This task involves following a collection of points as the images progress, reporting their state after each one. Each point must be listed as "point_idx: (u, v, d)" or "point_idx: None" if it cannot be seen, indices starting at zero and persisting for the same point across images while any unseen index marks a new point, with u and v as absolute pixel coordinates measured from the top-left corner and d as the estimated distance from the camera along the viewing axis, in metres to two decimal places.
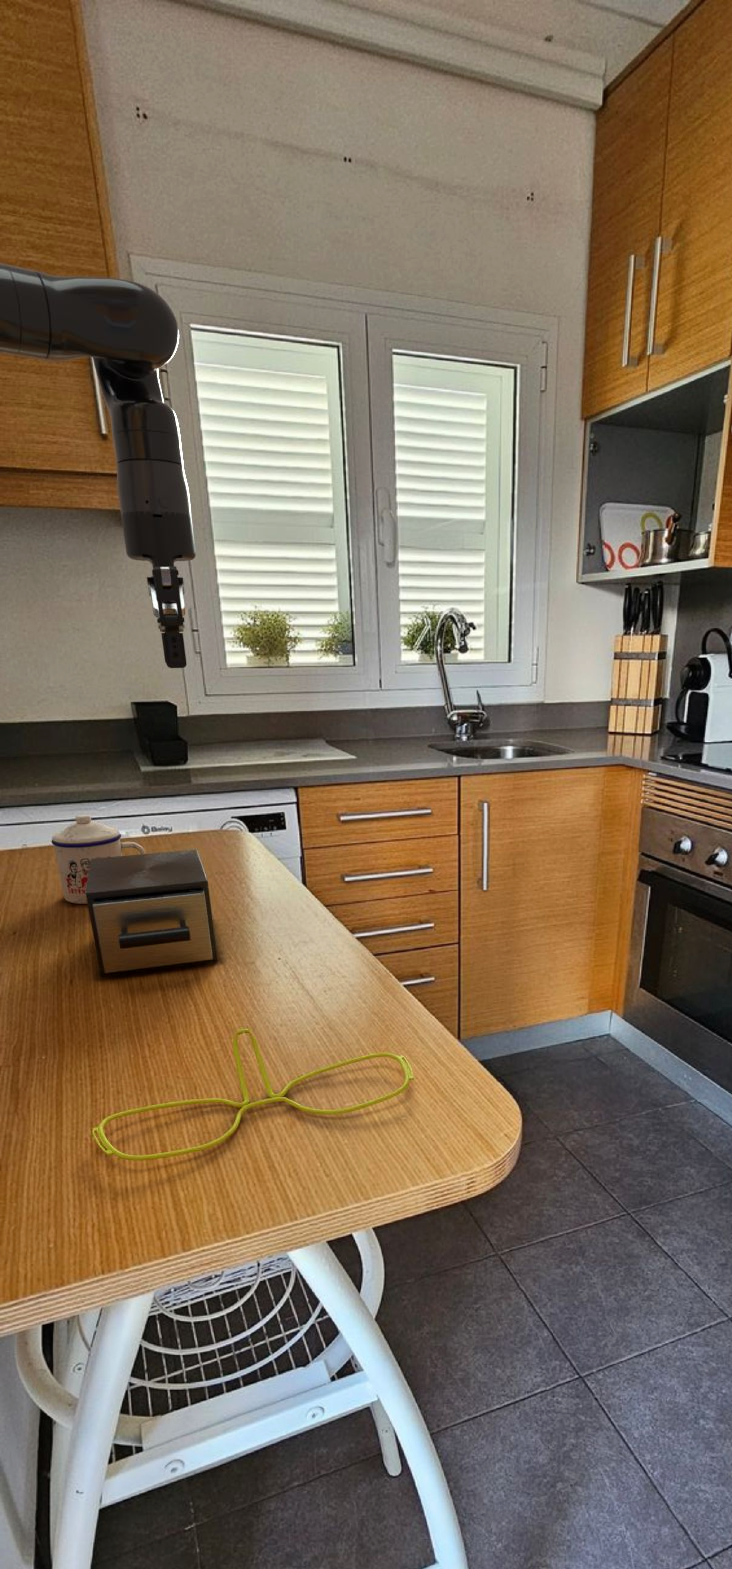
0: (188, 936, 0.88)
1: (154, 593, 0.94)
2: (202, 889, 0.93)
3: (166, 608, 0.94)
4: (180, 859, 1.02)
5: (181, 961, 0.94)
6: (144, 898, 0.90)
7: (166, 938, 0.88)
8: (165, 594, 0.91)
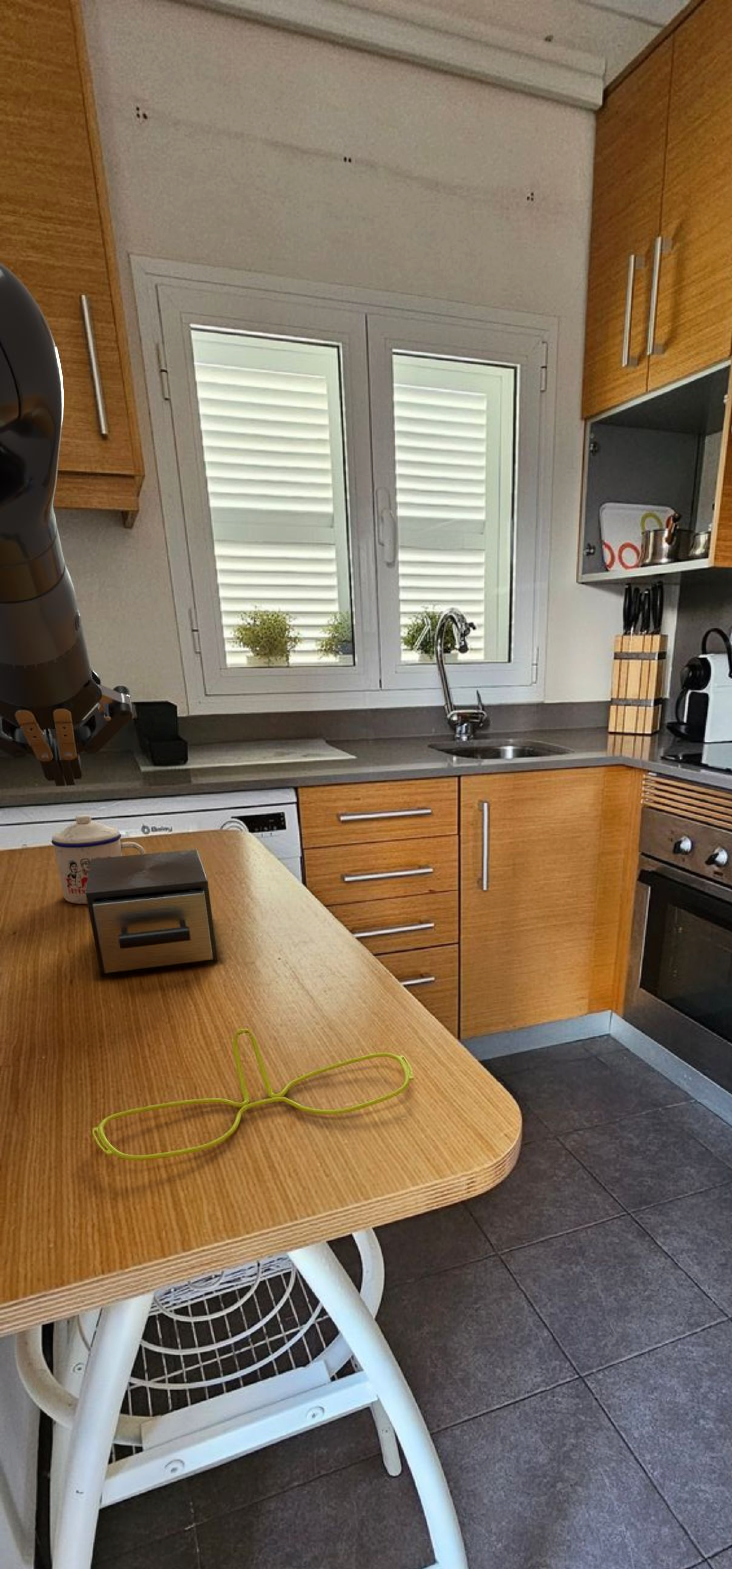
0: (188, 936, 0.88)
1: None
2: (202, 889, 0.93)
3: None
4: (180, 859, 1.02)
5: (181, 961, 0.94)
6: (144, 898, 0.90)
7: (166, 938, 0.88)
8: None
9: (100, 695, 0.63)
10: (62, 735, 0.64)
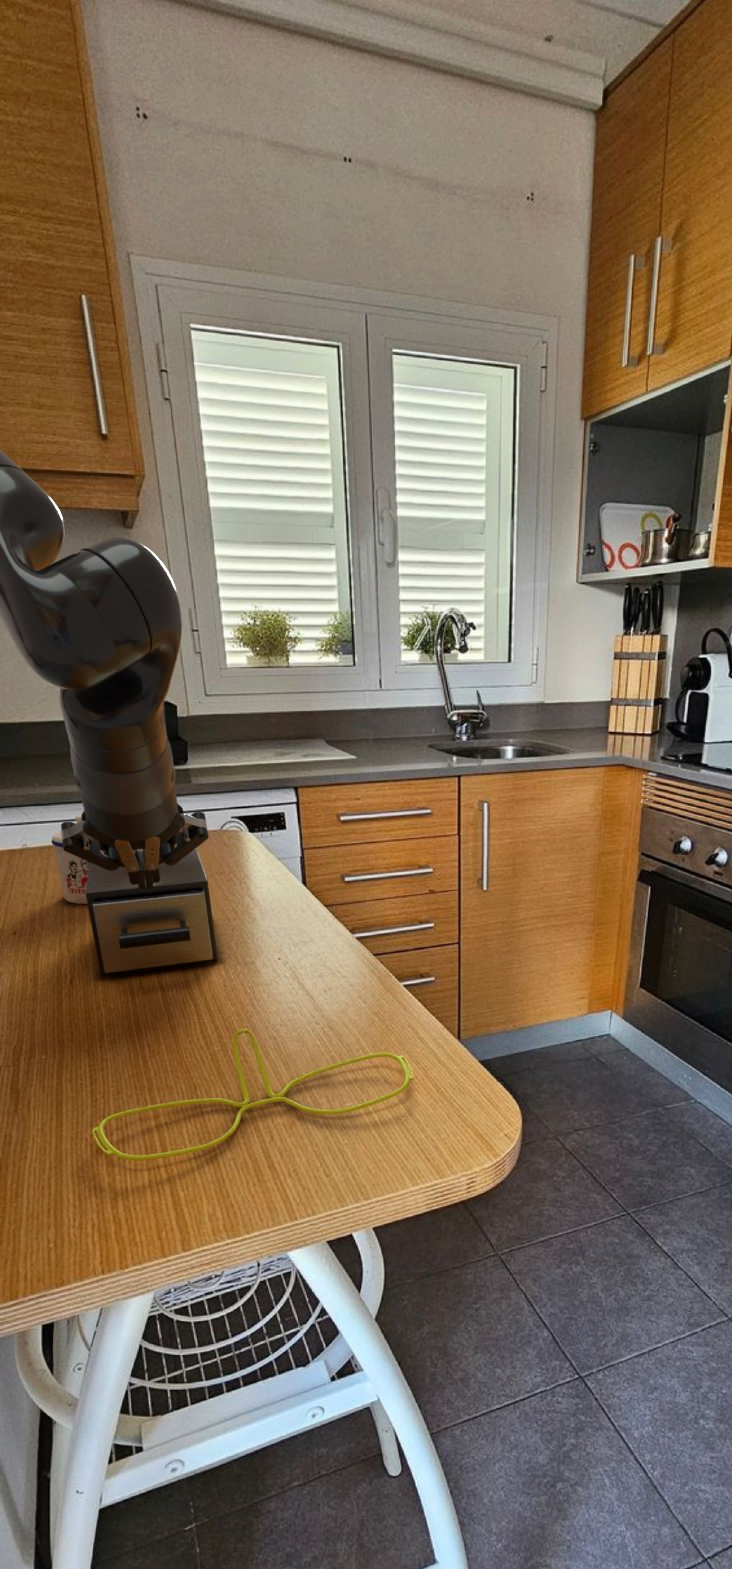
0: (188, 936, 0.88)
1: None
2: (202, 889, 0.93)
3: None
4: None
5: (181, 961, 0.94)
6: (144, 898, 0.90)
7: (166, 938, 0.88)
8: None
9: (183, 823, 0.75)
10: (150, 854, 0.76)
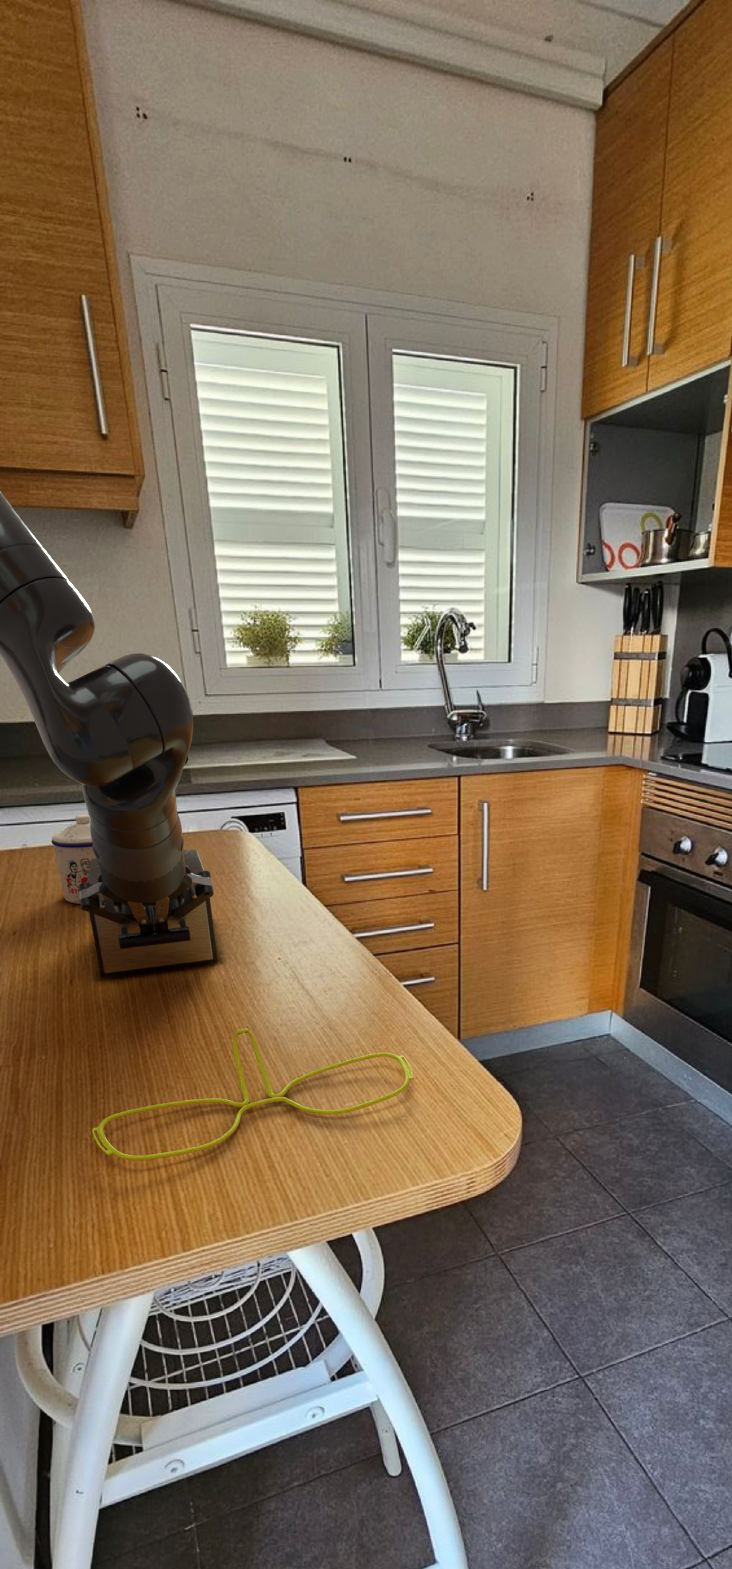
0: (188, 936, 0.88)
1: None
2: None
3: None
4: None
5: (181, 961, 0.93)
6: None
7: (166, 938, 0.87)
8: None
9: (191, 883, 0.82)
10: (160, 910, 0.83)
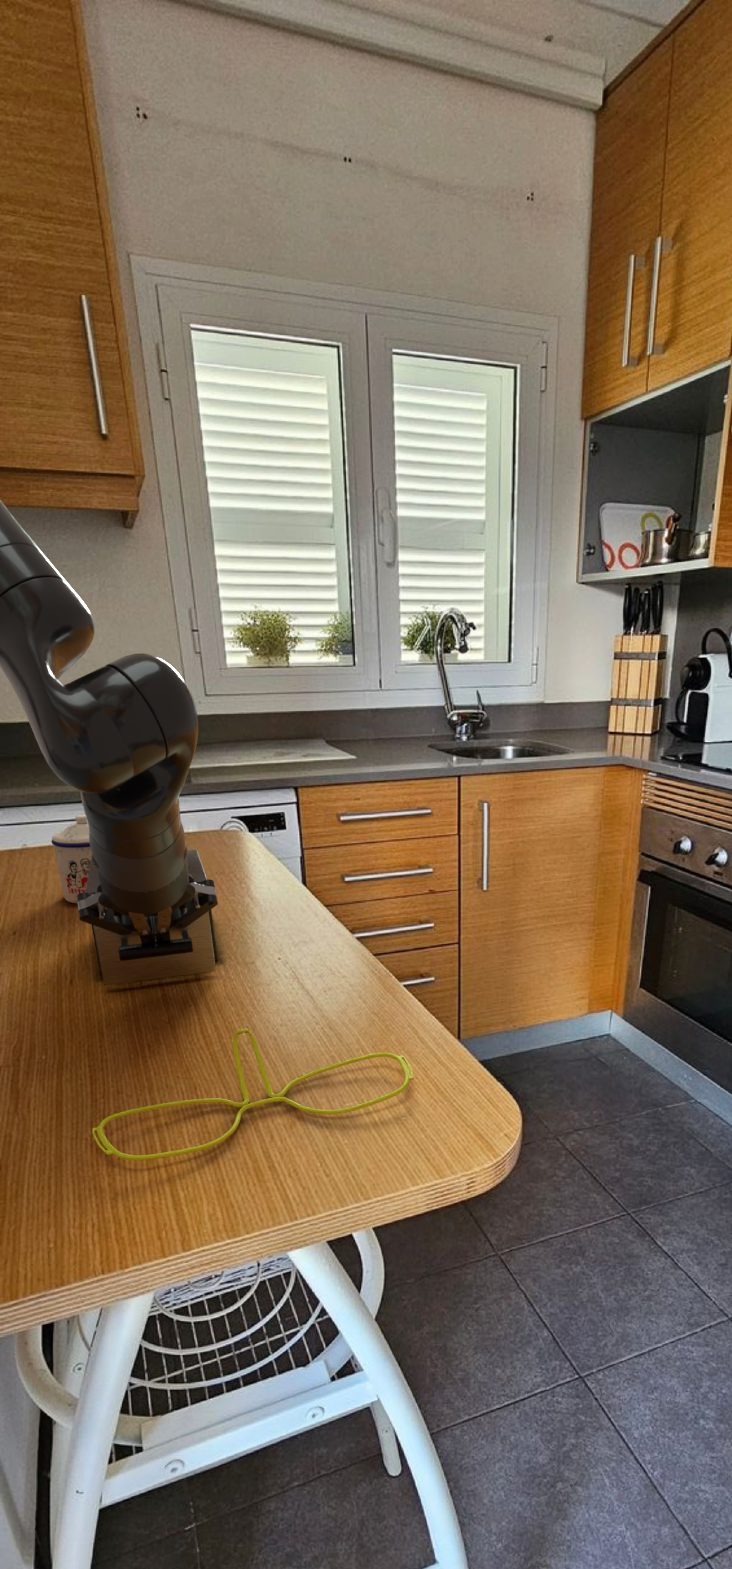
0: (190, 948, 0.85)
1: None
2: None
3: None
4: None
5: (183, 973, 0.90)
6: None
7: (168, 950, 0.84)
8: None
9: (194, 892, 0.78)
10: (162, 921, 0.80)
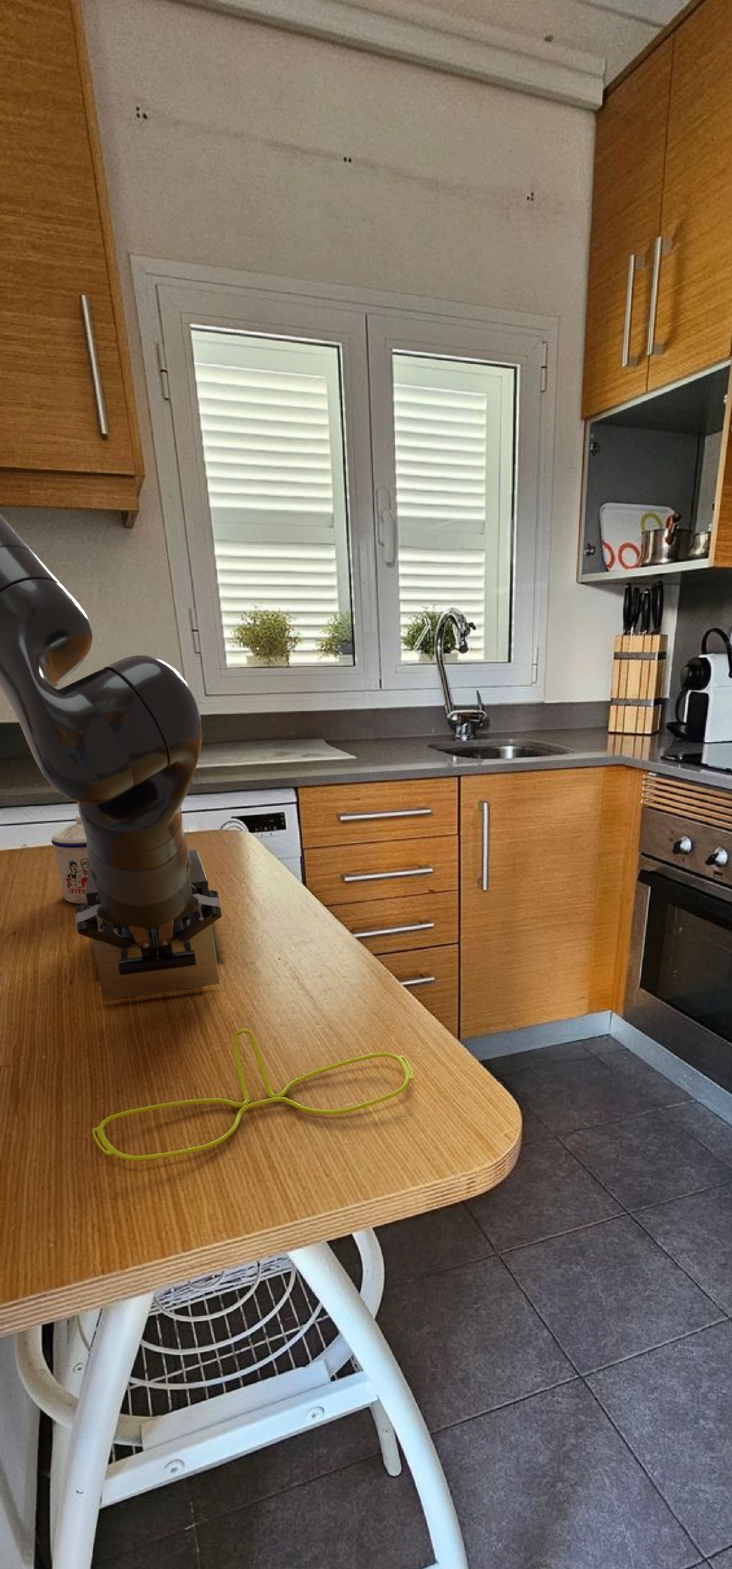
0: (193, 961, 0.82)
1: None
2: (202, 889, 0.93)
3: None
4: None
5: (185, 986, 0.87)
6: None
7: (170, 963, 0.81)
8: None
9: (197, 904, 0.75)
10: (163, 934, 0.77)
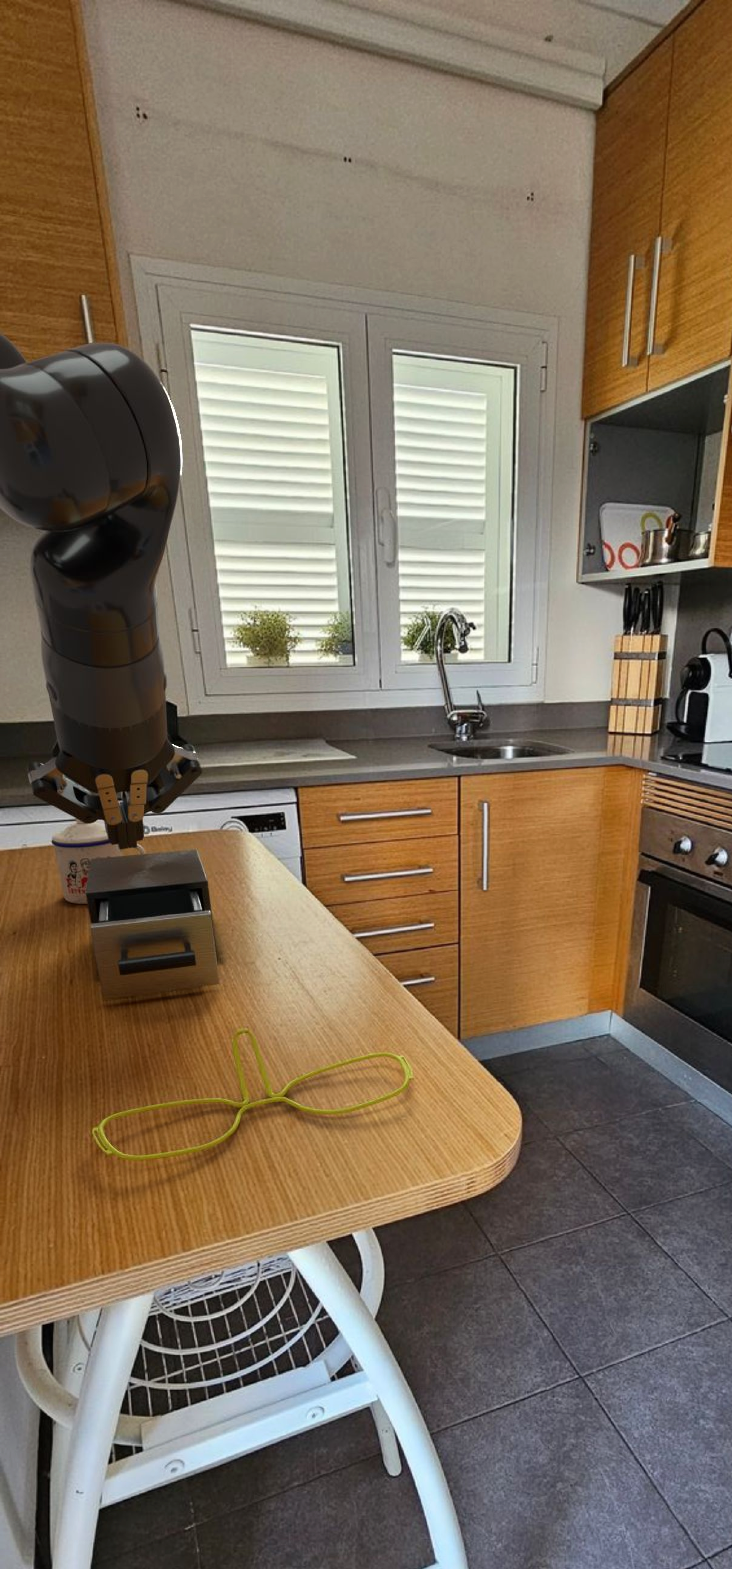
0: (193, 961, 0.82)
1: None
2: (202, 889, 0.93)
3: None
4: (180, 859, 1.02)
5: (186, 986, 0.87)
6: (146, 919, 0.83)
7: (170, 963, 0.81)
8: None
9: (174, 754, 0.64)
10: (135, 797, 0.65)
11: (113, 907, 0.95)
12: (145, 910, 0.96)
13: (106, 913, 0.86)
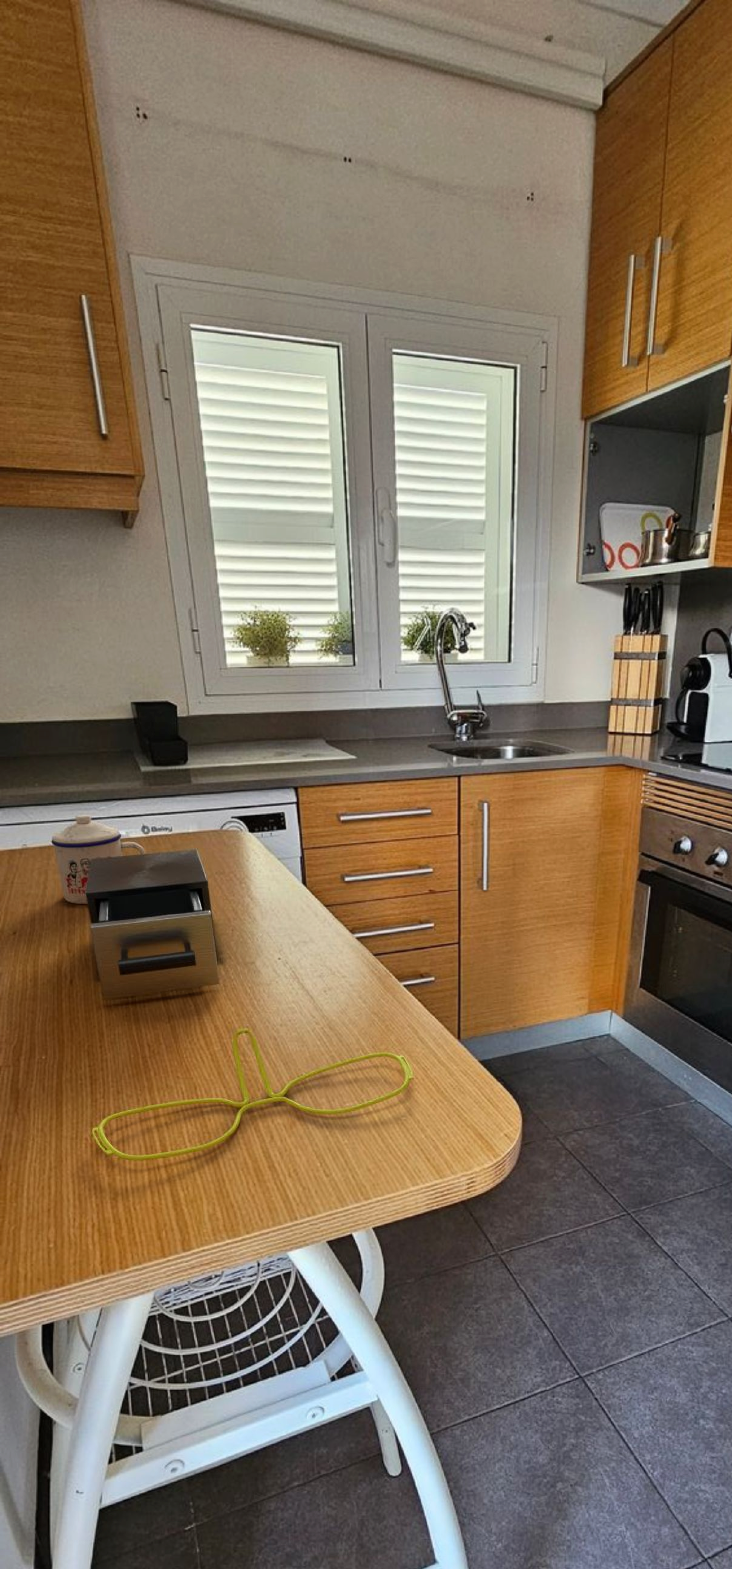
0: (193, 961, 0.82)
1: None
2: (202, 889, 0.93)
3: None
4: (180, 859, 1.02)
5: (186, 986, 0.87)
6: (146, 919, 0.83)
7: (170, 963, 0.81)
8: None
9: None
10: None
11: (113, 907, 0.95)
12: (145, 910, 0.96)
13: (106, 913, 0.86)
